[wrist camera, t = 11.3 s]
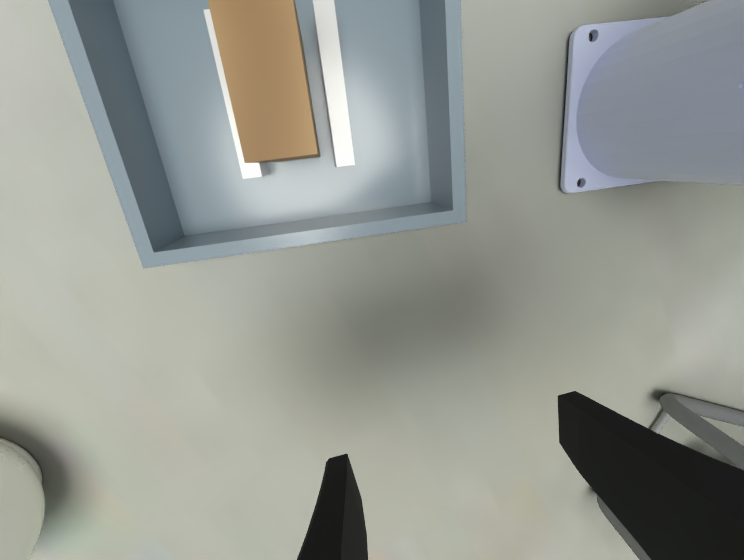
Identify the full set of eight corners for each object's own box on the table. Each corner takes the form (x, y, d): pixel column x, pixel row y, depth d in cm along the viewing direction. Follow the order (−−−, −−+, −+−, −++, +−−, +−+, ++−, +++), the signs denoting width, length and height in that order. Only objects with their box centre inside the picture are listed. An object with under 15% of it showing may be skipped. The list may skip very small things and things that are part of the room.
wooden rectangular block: (301, 38, 16) (280, -76, 8) (320, 157, 17) (317, 153, 10) (256, 43, 15) (191, -70, 8) (279, 161, 17) (244, 163, 10)
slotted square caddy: (424, -62, 15) (457, -133, 12) (439, 210, 19) (466, 222, 16) (92, -38, 14) (9, -108, 11) (180, 246, 18) (143, 268, 15)
